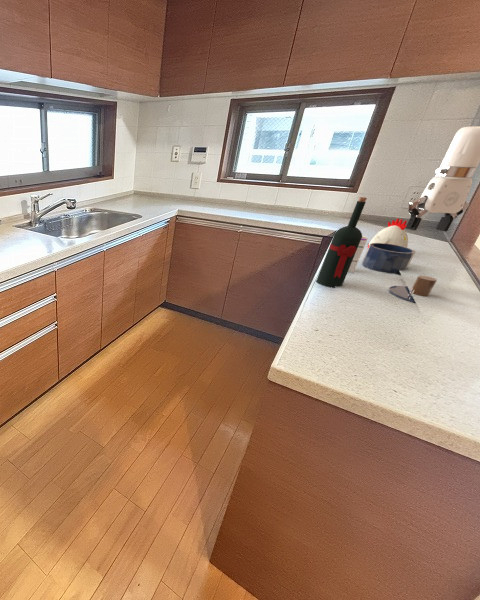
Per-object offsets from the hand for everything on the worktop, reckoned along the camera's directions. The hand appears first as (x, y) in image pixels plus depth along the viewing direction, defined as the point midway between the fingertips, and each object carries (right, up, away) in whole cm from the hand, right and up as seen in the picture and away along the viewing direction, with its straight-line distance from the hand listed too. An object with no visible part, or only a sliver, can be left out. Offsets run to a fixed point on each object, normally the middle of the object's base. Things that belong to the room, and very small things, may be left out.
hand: (425, 229), depth 104 cm
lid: (0, -21, +3) cm, 22 cm away
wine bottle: (-22, -17, +12) cm, 30 cm away
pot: (+13, -9, +29) cm, 33 cm away
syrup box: (-7, -11, +25) cm, 28 cm away
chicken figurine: (+35, +1, +51) cm, 62 cm away
